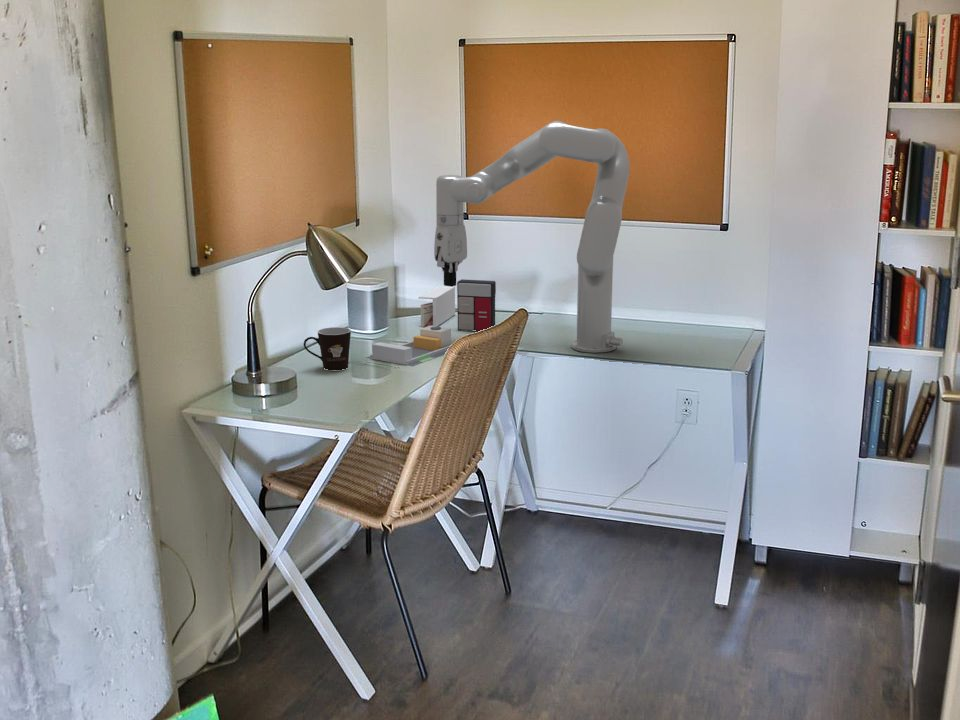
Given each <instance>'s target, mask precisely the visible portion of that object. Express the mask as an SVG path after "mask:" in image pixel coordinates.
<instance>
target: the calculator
mask: <svg viewBox="0 0 960 720" xmlns="http://www.w3.org/2000/svg"><path fill="white" fill-rule="evenodd" d="M496 285H497V283H496V281H495V280H480V279H465V278H463V279H460V280H458V281H456V286H457V287H456V292H457V295H456V296H457V299H456V301H457V303H456V304H457V330H458V331H461V330H476V331H480V330H483V329H487V328H489V327H491V326H494V325H495V326H496V294H497V293H496V290H497V289H496V288H497V287H496ZM476 331H475V332H476Z"/></svg>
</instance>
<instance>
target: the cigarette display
mask: <svg viewBox="0 0 960 720" xmlns="http://www.w3.org/2000/svg"><path fill="white" fill-rule="evenodd" d="M418 299H420V300H423V299H425V300H432V302H427V303H423V304H420V325H419V326H418V327H419V328H425V327H428V326H437V327H439V326H441V324H443V323H445V321H447V320H449V319H450V318H452V317H454V316H456V286H453V287H451V286H444V285H437V286H436V287H434V288H432V289H430V290H429V291H426V292H424V293H423V294H421V295H420V296H418Z"/></svg>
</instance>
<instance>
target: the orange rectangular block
mask: <svg viewBox="0 0 960 720" xmlns="http://www.w3.org/2000/svg"><path fill="white" fill-rule="evenodd" d="M412 339H413V341H414V348H420V349H427V350H433V351H435V350H438V349H441V339H437V338H431V337H425V336H420V335H415V336H413V338H412Z"/></svg>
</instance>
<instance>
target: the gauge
mask: <svg viewBox="0 0 960 720" xmlns="http://www.w3.org/2000/svg"><path fill="white" fill-rule="evenodd" d="M419 331H420V333H419V336H425V337H431V338H437V339H441V348H442V347H445V346H448V345H451V344H452V328H450V327H442V326H428V327H421V328H420V329H419Z"/></svg>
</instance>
